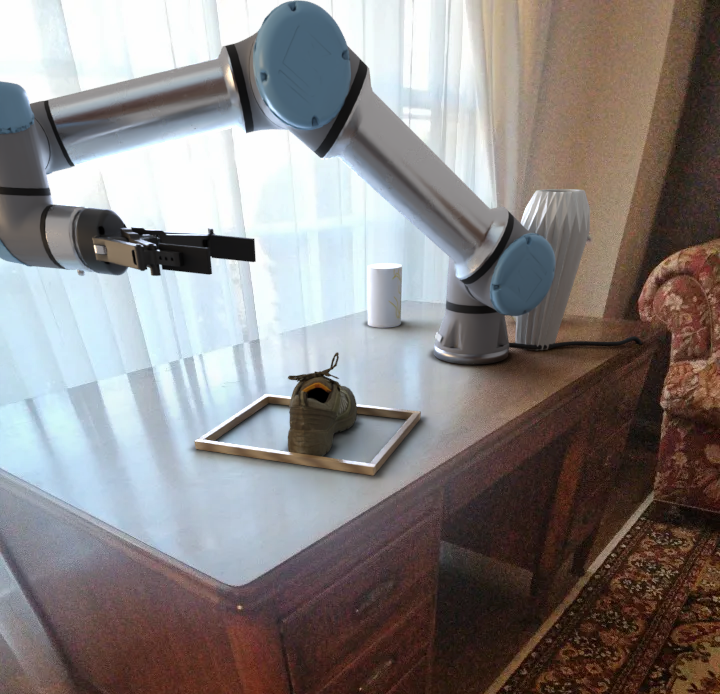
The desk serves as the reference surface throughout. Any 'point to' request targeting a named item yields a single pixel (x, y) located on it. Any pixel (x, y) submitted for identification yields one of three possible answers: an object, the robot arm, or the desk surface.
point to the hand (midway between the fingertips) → (233, 255)
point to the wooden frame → (371, 468)
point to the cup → (384, 294)
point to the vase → (568, 238)
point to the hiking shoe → (319, 412)
